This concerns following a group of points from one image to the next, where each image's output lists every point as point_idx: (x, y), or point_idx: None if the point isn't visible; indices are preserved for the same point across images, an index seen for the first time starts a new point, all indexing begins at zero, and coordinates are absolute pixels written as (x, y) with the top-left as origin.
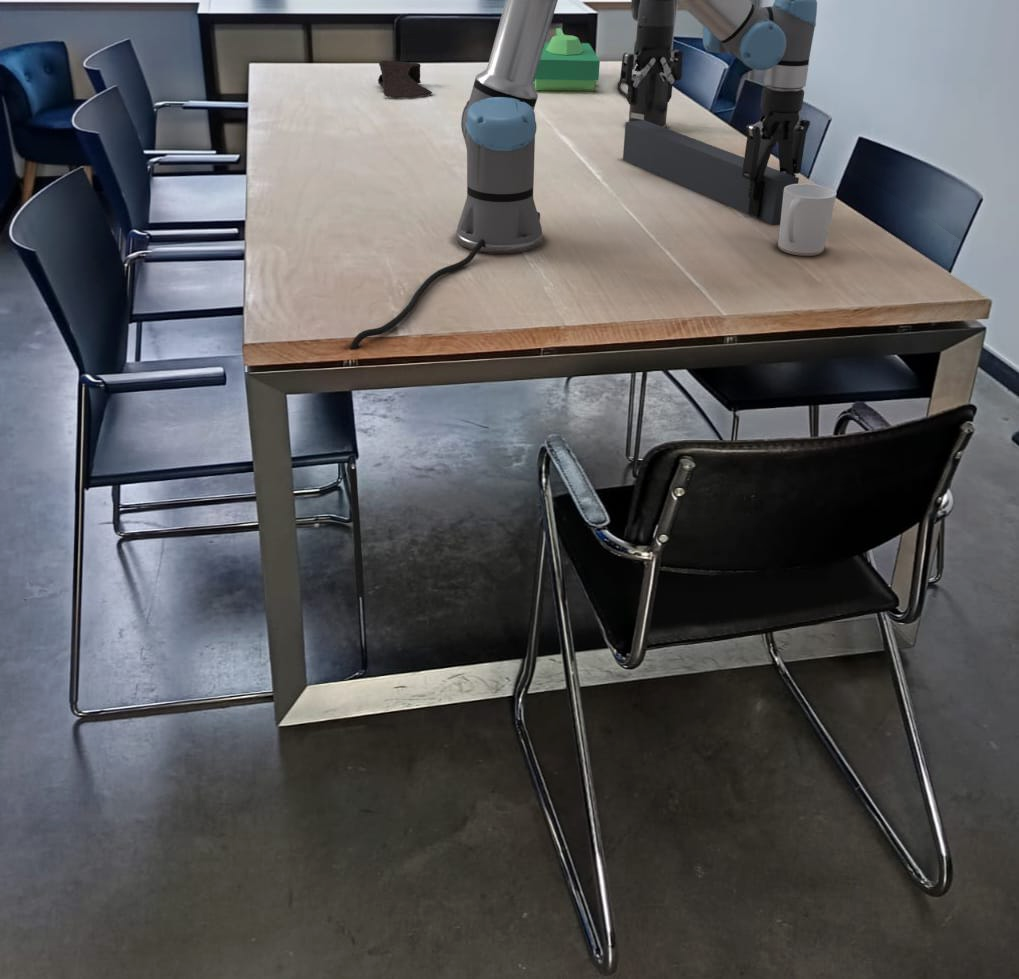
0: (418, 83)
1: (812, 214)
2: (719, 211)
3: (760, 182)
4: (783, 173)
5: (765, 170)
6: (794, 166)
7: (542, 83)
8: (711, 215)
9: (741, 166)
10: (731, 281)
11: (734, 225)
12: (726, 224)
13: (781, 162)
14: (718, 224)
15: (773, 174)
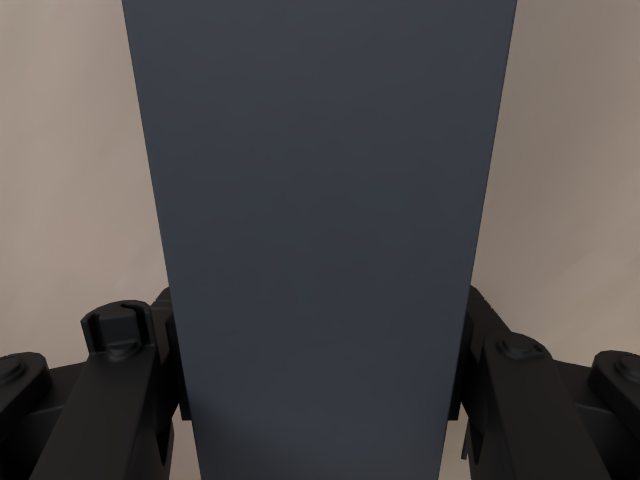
0: None
1: None
2: (131, 87)
3: (183, 403)
4: (412, 464)
5: (324, 339)
6: (624, 457)
7: None
8: (53, 129)
9: (146, 76)
10: None
11: (99, 297)
12: (68, 273)
13: (497, 476)
14: (30, 258)
15: (305, 453)
